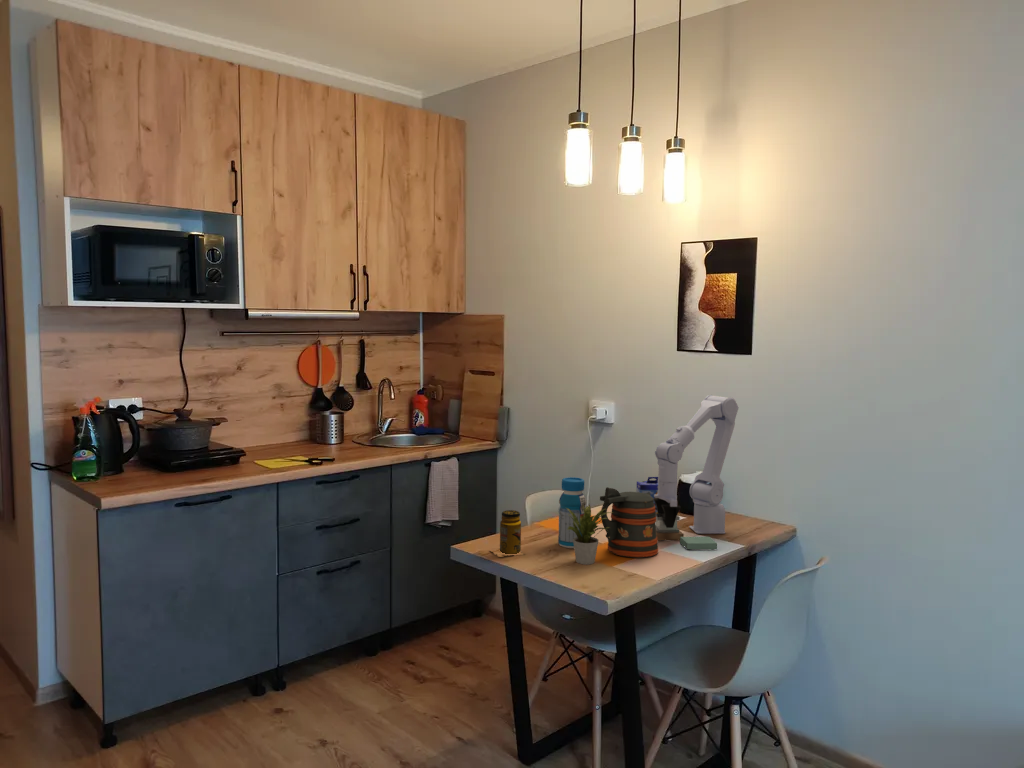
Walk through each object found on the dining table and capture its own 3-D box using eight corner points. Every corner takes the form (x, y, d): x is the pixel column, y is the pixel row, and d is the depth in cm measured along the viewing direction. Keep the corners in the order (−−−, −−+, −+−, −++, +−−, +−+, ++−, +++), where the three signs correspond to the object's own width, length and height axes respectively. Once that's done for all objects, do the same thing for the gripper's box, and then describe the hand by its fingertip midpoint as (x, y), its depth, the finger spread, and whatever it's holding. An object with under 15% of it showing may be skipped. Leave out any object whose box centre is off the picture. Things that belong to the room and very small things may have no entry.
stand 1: (676, 534, 237) (676, 527, 237) (683, 540, 230) (683, 534, 230) (648, 534, 236) (649, 528, 236) (654, 540, 229) (655, 534, 229)
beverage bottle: (563, 550, 218) (564, 482, 217) (553, 541, 226) (555, 477, 225) (590, 548, 221) (591, 481, 219) (579, 540, 229) (581, 475, 227)
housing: (674, 529, 235) (675, 513, 235) (679, 532, 231) (679, 517, 231) (653, 529, 235) (653, 513, 234) (657, 533, 231) (657, 517, 230)
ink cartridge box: (638, 519, 255) (640, 477, 254) (634, 515, 260) (635, 474, 259) (666, 518, 256) (668, 477, 255) (662, 514, 261) (663, 474, 260)
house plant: (622, 568, 202) (624, 509, 201) (575, 573, 198) (576, 512, 197) (601, 553, 216) (602, 497, 214) (556, 556, 212) (557, 500, 210)
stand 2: (708, 542, 228) (709, 536, 228) (717, 549, 221) (717, 543, 221) (680, 543, 227) (680, 536, 227) (687, 550, 220) (687, 543, 220)
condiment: (525, 554, 213) (526, 513, 212) (498, 558, 210) (499, 516, 209) (515, 547, 220) (515, 508, 219) (488, 551, 216) (489, 510, 215)
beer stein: (622, 565, 205) (623, 493, 204) (585, 551, 217) (587, 484, 215) (668, 553, 217) (670, 485, 215) (631, 541, 228) (633, 477, 227)
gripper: (648, 476, 239) (647, 518, 240) (661, 486, 224) (660, 530, 225) (670, 476, 239) (668, 518, 240) (684, 486, 225) (682, 530, 226)
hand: (666, 524), depth 233 cm, fingers open, 7 cm apart
